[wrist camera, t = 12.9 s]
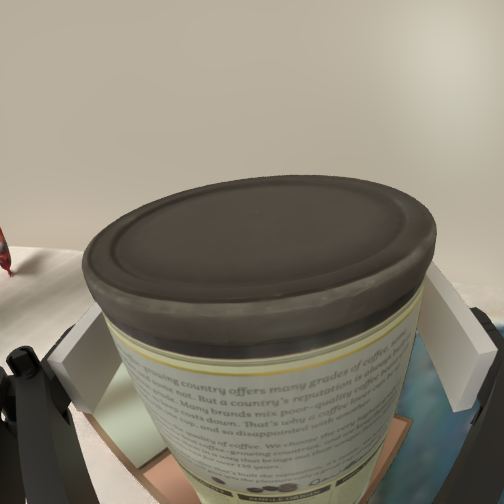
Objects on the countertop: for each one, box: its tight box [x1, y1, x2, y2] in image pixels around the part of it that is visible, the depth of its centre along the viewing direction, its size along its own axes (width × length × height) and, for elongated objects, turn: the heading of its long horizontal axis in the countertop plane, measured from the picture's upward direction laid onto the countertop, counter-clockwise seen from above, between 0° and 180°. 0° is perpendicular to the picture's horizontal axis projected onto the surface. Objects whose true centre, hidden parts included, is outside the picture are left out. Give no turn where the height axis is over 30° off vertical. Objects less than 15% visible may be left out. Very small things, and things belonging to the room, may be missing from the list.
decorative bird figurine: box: [0, 228, 11, 277], centre depth 46 cm, size 3×18×10 cm, turn 45°
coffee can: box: [82, 175, 437, 504], centre depth 12 cm, size 10×10×14 cm
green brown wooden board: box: [82, 362, 413, 504], centre depth 19 cm, size 22×13×2 cm, turn 49°
